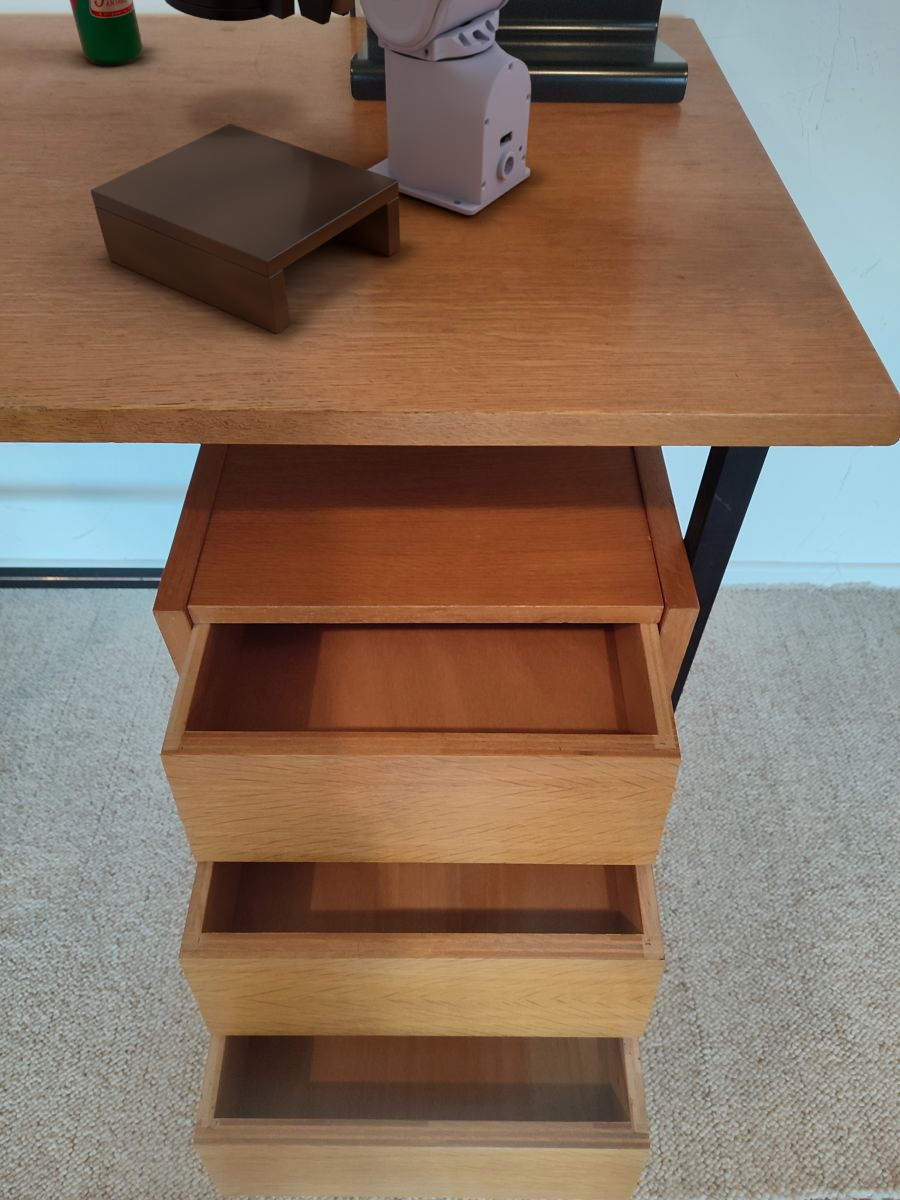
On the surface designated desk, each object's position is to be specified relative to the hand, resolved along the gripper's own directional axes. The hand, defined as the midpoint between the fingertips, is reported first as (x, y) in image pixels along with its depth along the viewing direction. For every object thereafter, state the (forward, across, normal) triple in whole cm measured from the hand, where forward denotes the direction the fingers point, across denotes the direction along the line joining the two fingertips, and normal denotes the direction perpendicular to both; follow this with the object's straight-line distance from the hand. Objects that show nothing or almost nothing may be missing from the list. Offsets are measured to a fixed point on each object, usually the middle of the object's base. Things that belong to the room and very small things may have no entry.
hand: (325, 14), depth 64 cm
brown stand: (+8, +16, +8) cm, 19 cm away
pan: (+2, 0, -6) cm, 6 cm away
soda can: (+12, -2, -25) cm, 28 cm away
